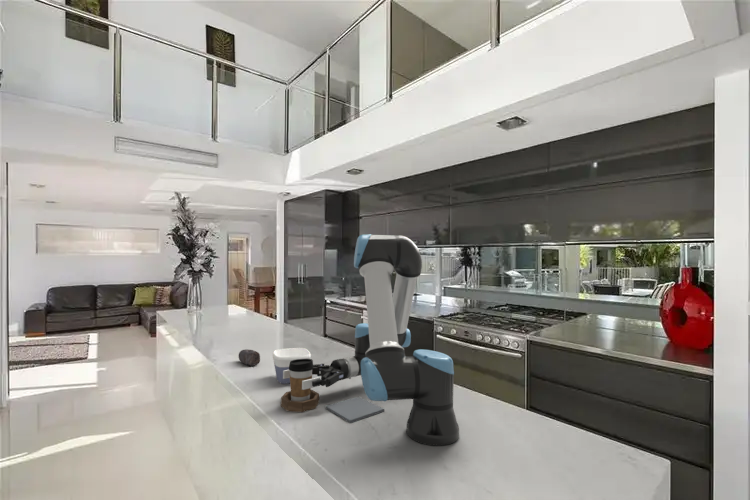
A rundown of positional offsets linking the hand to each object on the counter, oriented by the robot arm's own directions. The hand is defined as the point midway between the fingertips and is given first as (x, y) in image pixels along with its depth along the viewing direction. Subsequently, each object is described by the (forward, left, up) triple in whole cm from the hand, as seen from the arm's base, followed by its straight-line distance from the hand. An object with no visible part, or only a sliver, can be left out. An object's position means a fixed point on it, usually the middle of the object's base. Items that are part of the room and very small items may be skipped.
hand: (292, 379), depth 123 cm
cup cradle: (0, -3, -9) cm, 10 cm away
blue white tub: (+26, -13, -9) cm, 31 cm away
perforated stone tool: (+58, -7, -9) cm, 59 cm away
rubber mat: (-15, -15, -9) cm, 23 cm away
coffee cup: (0, -3, -9) cm, 10 cm away
